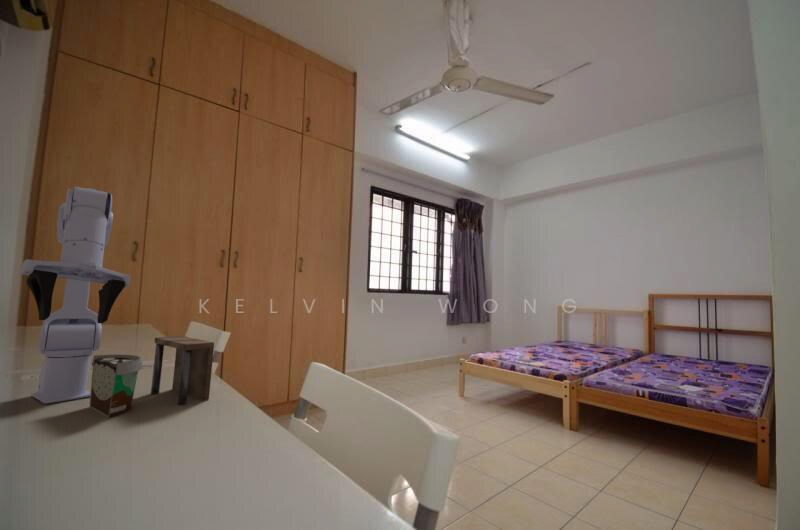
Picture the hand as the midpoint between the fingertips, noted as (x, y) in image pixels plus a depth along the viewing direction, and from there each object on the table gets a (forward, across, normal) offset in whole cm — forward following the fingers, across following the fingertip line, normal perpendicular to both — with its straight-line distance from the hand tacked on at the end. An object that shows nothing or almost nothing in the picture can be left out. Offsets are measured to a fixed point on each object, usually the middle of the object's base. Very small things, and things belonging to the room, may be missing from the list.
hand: (74, 320), depth 61 cm
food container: (+14, +12, +13) cm, 23 cm away
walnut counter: (+12, +23, +13) cm, 29 cm away
